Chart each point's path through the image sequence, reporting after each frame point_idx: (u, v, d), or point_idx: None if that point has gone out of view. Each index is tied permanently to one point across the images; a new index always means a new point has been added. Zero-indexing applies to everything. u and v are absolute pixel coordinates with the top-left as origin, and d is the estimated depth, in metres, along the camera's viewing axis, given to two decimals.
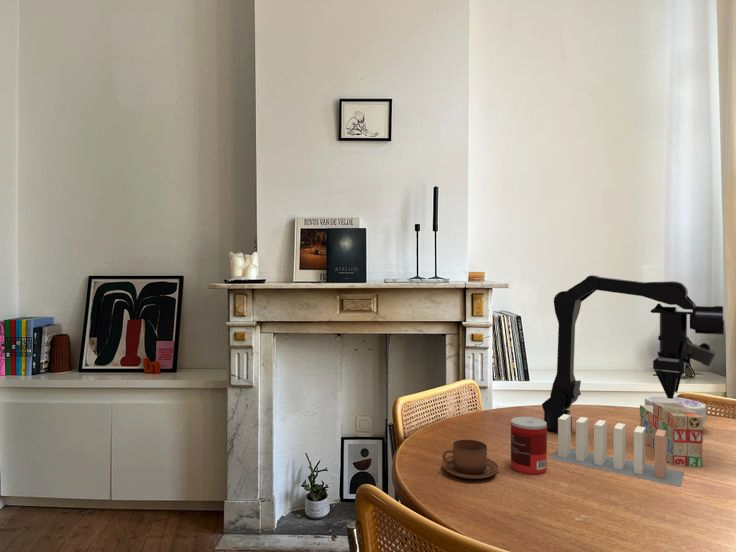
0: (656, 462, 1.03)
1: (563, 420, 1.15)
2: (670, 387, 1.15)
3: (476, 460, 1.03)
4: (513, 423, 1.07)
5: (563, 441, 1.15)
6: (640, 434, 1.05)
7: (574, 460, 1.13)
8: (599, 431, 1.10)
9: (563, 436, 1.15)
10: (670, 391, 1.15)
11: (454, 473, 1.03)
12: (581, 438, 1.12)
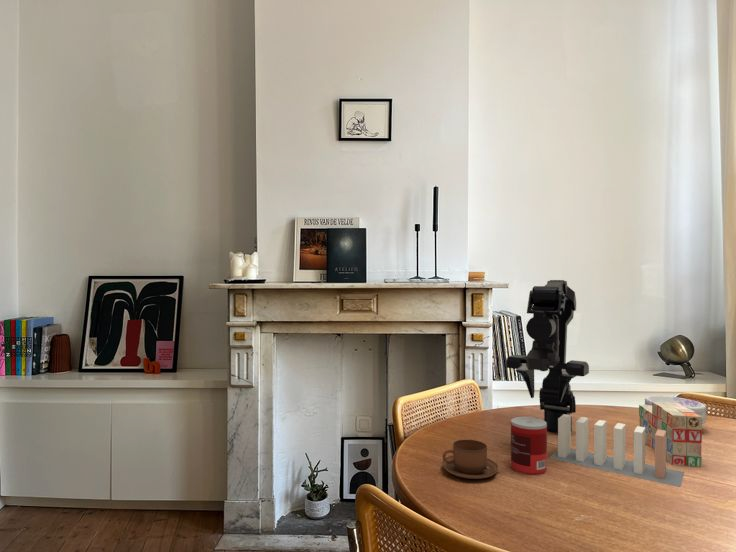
0: (656, 462, 1.03)
1: (563, 420, 1.15)
2: None
3: (476, 460, 1.04)
4: (513, 423, 1.07)
5: (563, 441, 1.15)
6: (640, 434, 1.05)
7: (574, 460, 1.13)
8: (599, 431, 1.10)
9: (563, 436, 1.15)
10: None
11: (454, 473, 1.03)
12: (581, 438, 1.12)
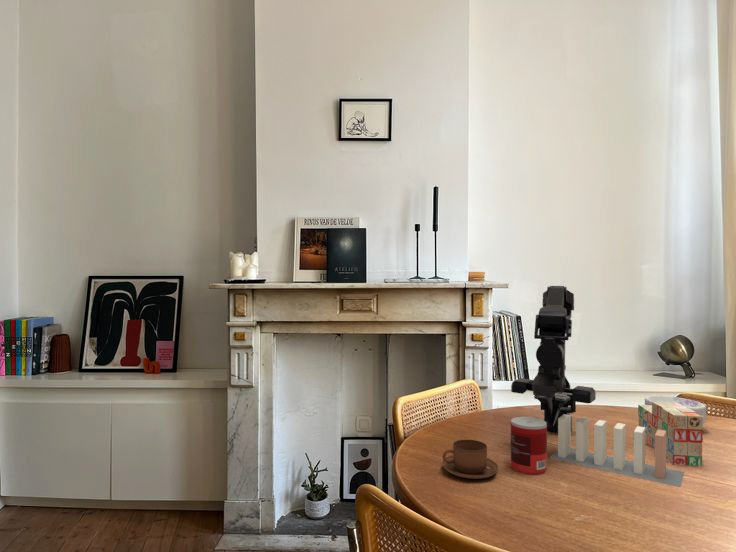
0: (656, 462, 1.03)
1: (563, 420, 1.15)
2: None
3: (476, 460, 1.04)
4: (513, 423, 1.07)
5: (563, 441, 1.15)
6: (640, 434, 1.05)
7: (574, 460, 1.13)
8: (599, 431, 1.10)
9: (563, 436, 1.15)
10: None
11: (454, 473, 1.03)
12: (581, 438, 1.12)
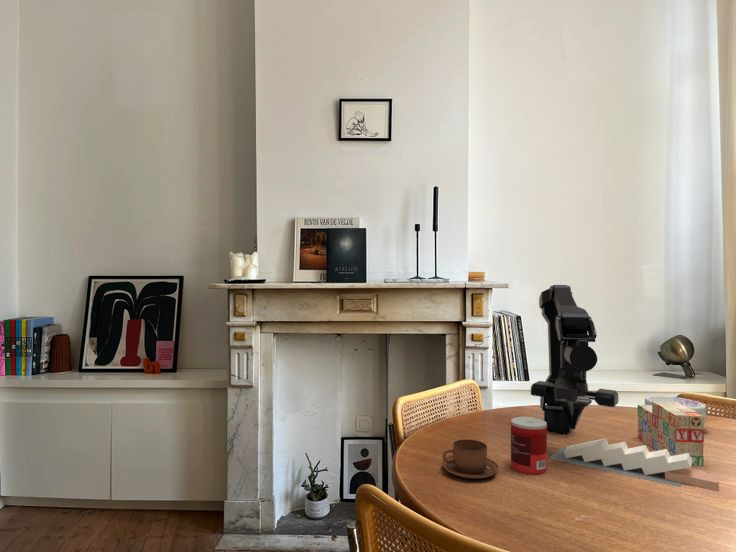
0: (683, 476, 1.01)
1: (602, 449, 1.10)
2: None
3: (476, 460, 1.04)
4: (513, 423, 1.07)
5: (581, 453, 1.12)
6: (687, 466, 1.00)
7: (574, 460, 1.13)
8: (638, 457, 1.05)
9: (586, 452, 1.12)
10: None
11: (454, 473, 1.03)
12: (607, 456, 1.09)
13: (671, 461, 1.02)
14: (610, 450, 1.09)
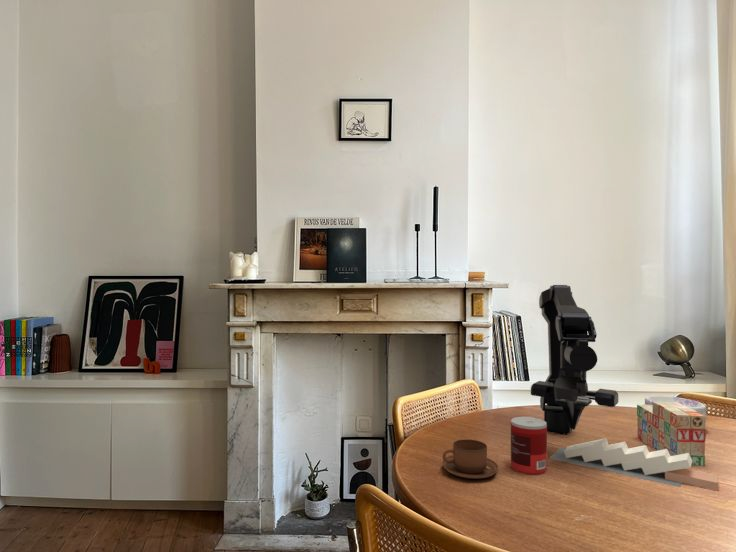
0: (683, 476, 1.01)
1: (602, 449, 1.10)
2: None
3: (476, 460, 1.04)
4: (513, 423, 1.07)
5: (581, 453, 1.12)
6: (687, 466, 1.00)
7: (574, 460, 1.13)
8: (638, 457, 1.05)
9: (586, 452, 1.12)
10: None
11: (454, 473, 1.03)
12: (607, 456, 1.09)
13: (671, 461, 1.02)
14: (610, 450, 1.09)
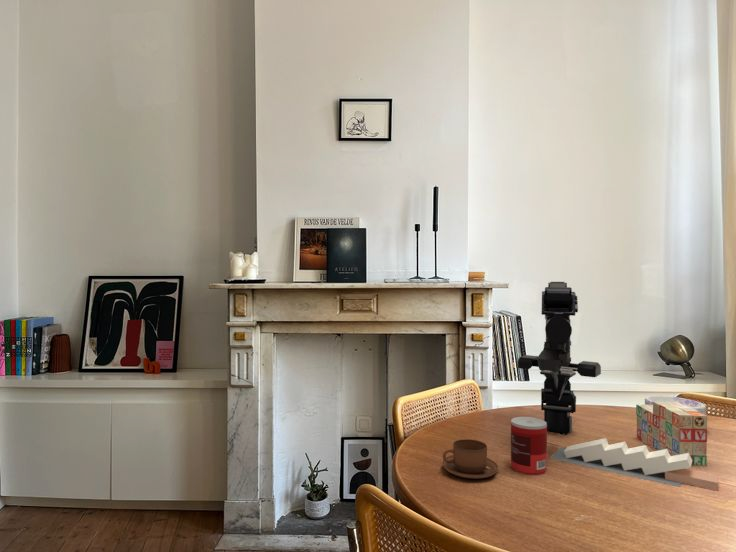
0: (683, 476, 1.01)
1: (602, 449, 1.10)
2: None
3: (476, 460, 1.04)
4: (513, 423, 1.07)
5: (581, 453, 1.12)
6: (687, 466, 1.00)
7: (574, 460, 1.13)
8: (638, 457, 1.05)
9: (586, 452, 1.12)
10: None
11: (454, 473, 1.03)
12: (607, 456, 1.09)
13: (671, 461, 1.02)
14: (610, 450, 1.09)
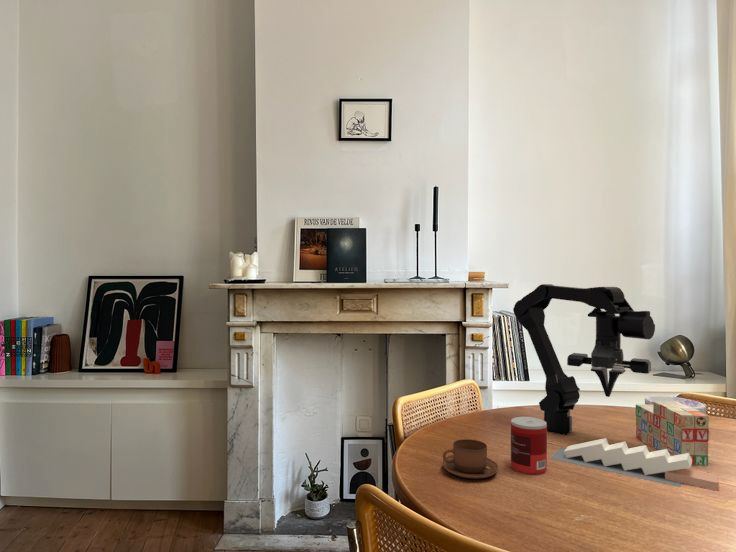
0: (683, 476, 1.01)
1: (602, 449, 1.10)
2: None
3: (476, 460, 1.04)
4: (513, 423, 1.07)
5: (581, 453, 1.12)
6: (687, 466, 1.00)
7: (574, 460, 1.13)
8: (638, 457, 1.05)
9: (586, 452, 1.12)
10: None
11: (454, 473, 1.03)
12: (607, 456, 1.09)
13: (671, 461, 1.02)
14: (610, 450, 1.09)
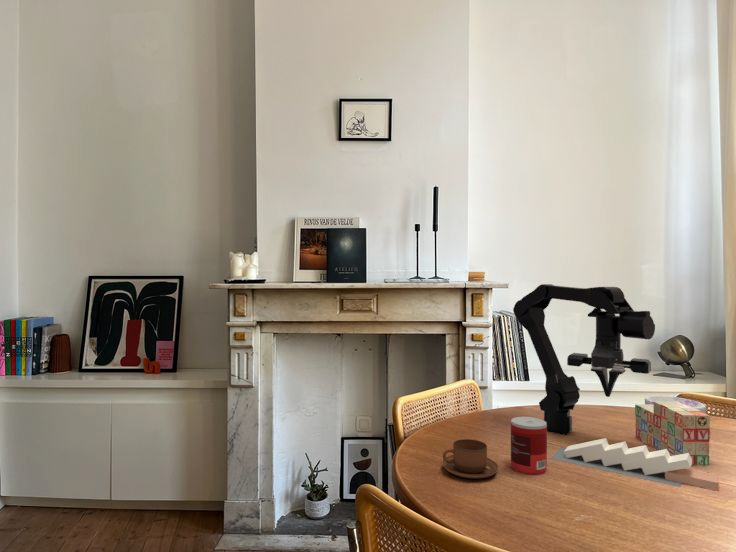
0: (683, 476, 1.01)
1: (602, 449, 1.10)
2: None
3: (477, 460, 1.04)
4: (513, 423, 1.07)
5: (581, 453, 1.12)
6: (687, 466, 1.00)
7: (574, 460, 1.13)
8: (638, 457, 1.05)
9: (586, 452, 1.12)
10: None
11: (454, 472, 1.03)
12: (607, 456, 1.09)
13: (671, 461, 1.02)
14: (610, 450, 1.09)
